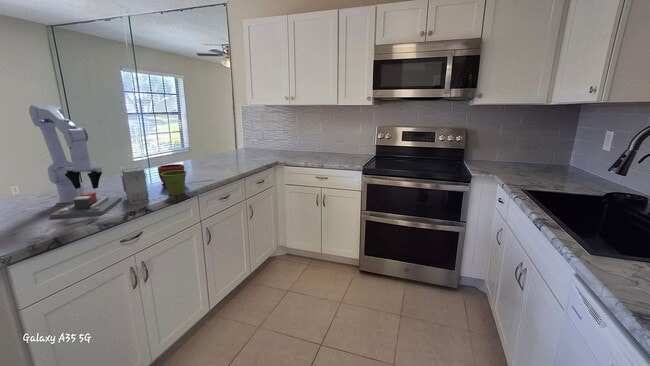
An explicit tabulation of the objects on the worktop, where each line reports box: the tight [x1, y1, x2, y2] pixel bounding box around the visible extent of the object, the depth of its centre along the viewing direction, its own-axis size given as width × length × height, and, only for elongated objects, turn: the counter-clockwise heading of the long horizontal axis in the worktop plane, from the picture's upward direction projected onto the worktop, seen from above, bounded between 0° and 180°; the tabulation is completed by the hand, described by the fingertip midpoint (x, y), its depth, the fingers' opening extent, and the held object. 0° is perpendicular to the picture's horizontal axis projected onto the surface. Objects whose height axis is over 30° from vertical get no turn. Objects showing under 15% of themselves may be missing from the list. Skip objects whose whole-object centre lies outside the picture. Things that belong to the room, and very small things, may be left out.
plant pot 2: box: [157, 163, 186, 189], centre depth 161 cm, size 13×13×12 cm
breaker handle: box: [73, 196, 93, 209], centre depth 121 cm, size 3×5×4 cm, turn 105°
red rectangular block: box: [79, 191, 98, 204], centre depth 126 cm, size 4×4×5 cm
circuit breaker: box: [120, 167, 150, 205], centre depth 138 cm, size 8×14×15 cm, turn 44°
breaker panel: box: [48, 196, 123, 220], centre depth 125 cm, size 20×18×3 cm
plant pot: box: [161, 170, 188, 197], centre depth 146 cm, size 12×12×11 cm
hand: (86, 188), depth 125 cm, fingers open, 7 cm apart
